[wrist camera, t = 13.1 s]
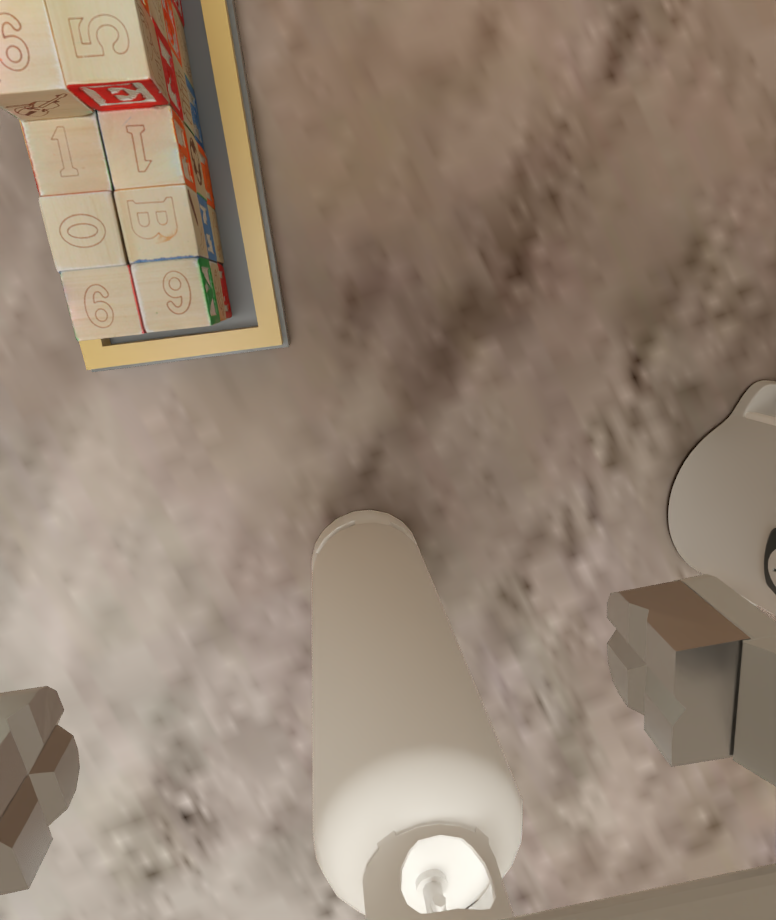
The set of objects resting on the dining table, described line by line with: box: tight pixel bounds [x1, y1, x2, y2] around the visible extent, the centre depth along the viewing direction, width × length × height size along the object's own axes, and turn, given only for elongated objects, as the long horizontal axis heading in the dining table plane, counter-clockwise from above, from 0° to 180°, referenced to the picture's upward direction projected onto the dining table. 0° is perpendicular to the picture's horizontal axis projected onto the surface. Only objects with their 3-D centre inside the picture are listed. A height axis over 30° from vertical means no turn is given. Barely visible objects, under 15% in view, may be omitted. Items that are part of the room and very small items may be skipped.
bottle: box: [312, 510, 523, 920], centre depth 30 cm, size 8×8×28 cm
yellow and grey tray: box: [19, 0, 290, 372], centre depth 32 cm, size 12×27×4 cm, turn 6°
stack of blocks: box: [0, 0, 232, 341], centre depth 26 cm, size 21×6×12 cm, turn 5°
